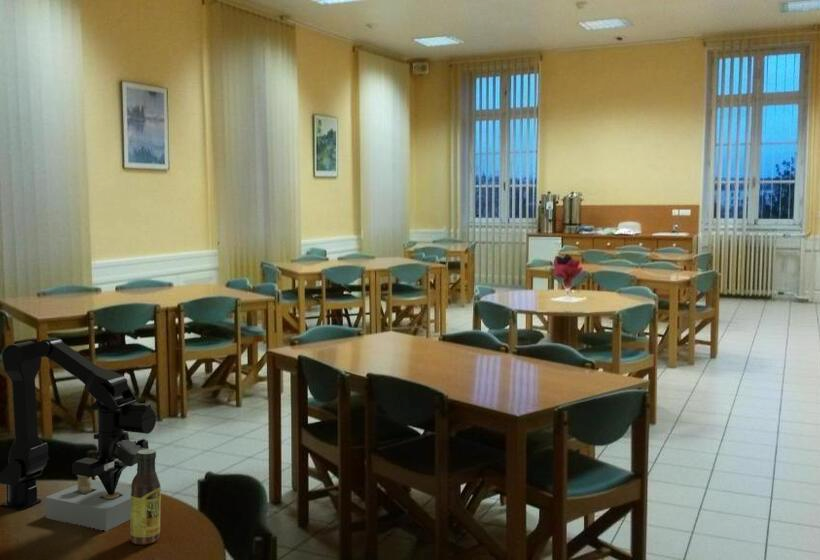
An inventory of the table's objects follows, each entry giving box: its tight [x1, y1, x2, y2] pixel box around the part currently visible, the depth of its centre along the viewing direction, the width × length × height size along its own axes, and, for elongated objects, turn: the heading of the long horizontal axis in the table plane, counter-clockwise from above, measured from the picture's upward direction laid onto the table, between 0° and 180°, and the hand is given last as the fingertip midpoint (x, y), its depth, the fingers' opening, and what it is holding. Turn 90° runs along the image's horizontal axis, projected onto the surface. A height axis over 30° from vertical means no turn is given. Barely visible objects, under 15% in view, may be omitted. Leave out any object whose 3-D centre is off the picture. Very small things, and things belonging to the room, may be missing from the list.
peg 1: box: [76, 475, 93, 495], centre depth 187 cm, size 4×4×6 cm
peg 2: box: [103, 492, 119, 500], centre depth 184 cm, size 4×4×6 cm
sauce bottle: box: [129, 448, 162, 546], centre depth 171 cm, size 6×6×20 cm
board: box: [45, 479, 131, 532], centre depth 186 cm, size 18×14×5 cm
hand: (111, 494), depth 184 cm, fingers closed, pressing on peg 2
